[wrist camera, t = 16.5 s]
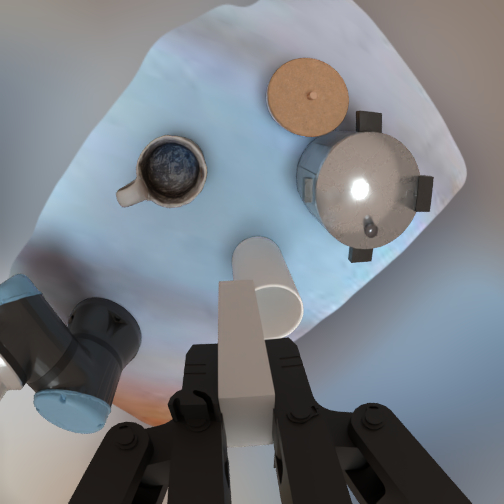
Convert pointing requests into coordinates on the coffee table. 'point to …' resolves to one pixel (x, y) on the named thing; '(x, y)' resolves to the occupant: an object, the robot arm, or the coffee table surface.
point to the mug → (166, 173)
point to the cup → (269, 285)
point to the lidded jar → (307, 97)
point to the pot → (313, 160)
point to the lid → (370, 190)
